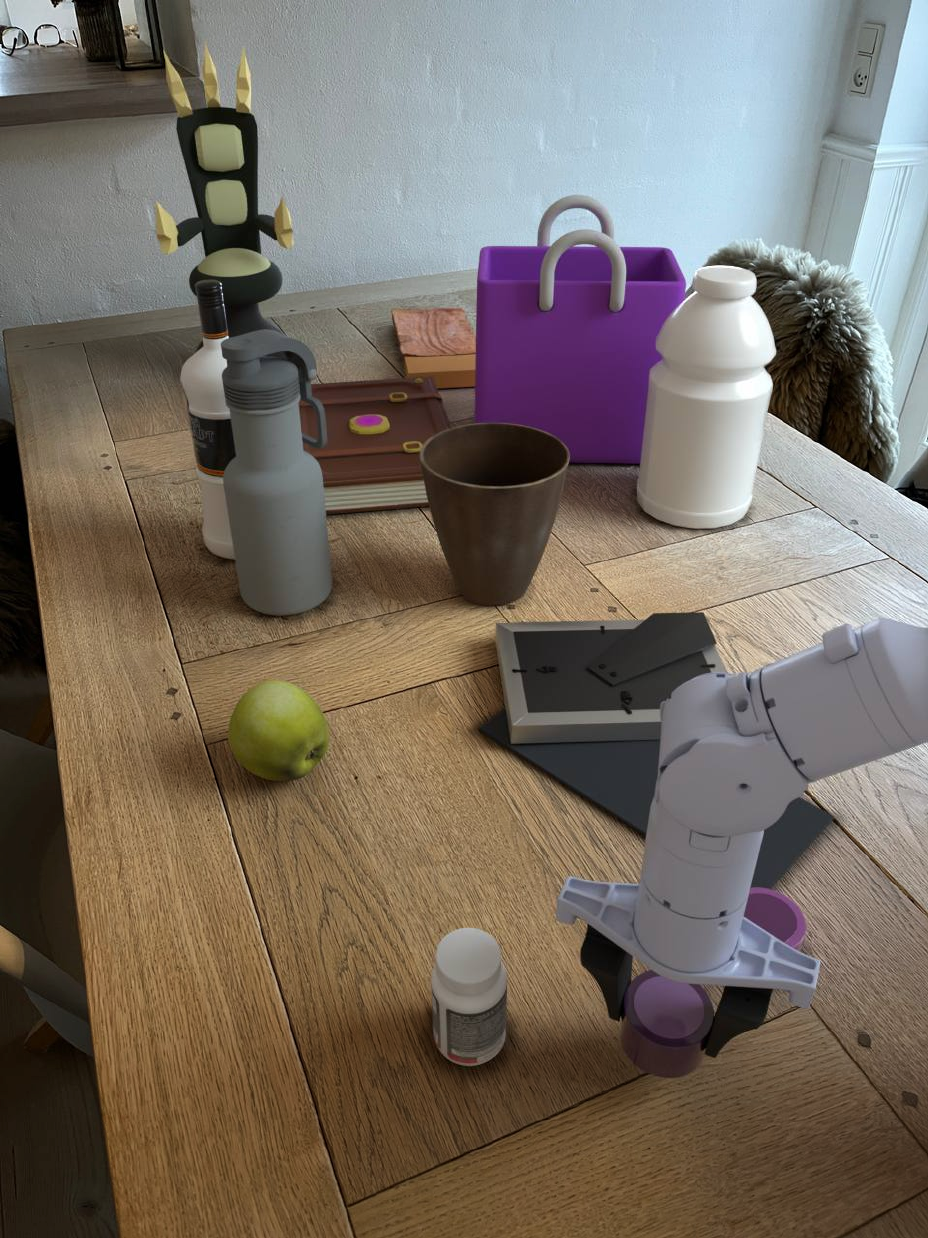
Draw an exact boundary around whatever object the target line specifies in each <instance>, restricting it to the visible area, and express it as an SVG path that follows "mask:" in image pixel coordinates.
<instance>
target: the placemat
mask: <svg viewBox="0 0 928 1238" xmlns="http://www.w3.org/2000/svg"><path fill="white" fill-rule="evenodd" d="M478 731H479V732H481V733H482V734H483V735H485V736H487V737H488V738H489V739H492V740H493V741H495V742H497V743H498V744H500V745H501V746H502V747H504V748H505V749H508V750H509V751H510V752H512V753H514V754H515V755H517V756H518V757H520V758H522V759H523V760H524V761H526V762H527V763H529V764H531V765H532V766H534V767H536V768H537V769H539V770H540V771H542V772H543V773H545V774H546V775H548V776H550V777H551V778H553V779H555V780H556V781H558V782H559V783H561V784H562V785H564V786H565V787H567V788H568V789H570V790H572V791H573V792H575V793H576V794H578V795H580V796H581V797H583V798H584V799H586V800H588V801H589V802H591V803H592V804H594V805H595V806H597V807H598V808H599V809H602V810H603V811H605V812H606V813H608V814H609V815H611V816H612V817H614V818H615V819H617V820H619V821H620V822H622V823H624V824H625V825H627V826H628V827H630V828H631V829H633V830H635V831H636V832H638V833H639V834H641V835H642V836H644V837H646V834H647V827H648V820H649V814H650V807H651V804H652V801H653V798H654V796H655V787H656V781H657V779H658V765H659V752H660V740H627V741H592V742H557V743H522V744H511V740H510V733H509V727H508V720H507V714H506V708H504V709H503V710H501V711H500V712H499V713H497V714H495V715H494V716H493V717H491V718H490V719H489V720H487V721H486V722H485V723H483V724H481V725H479V727H478ZM834 819H835V816H834V815H833V814H831V813H829V812H828V811H825V810H824V809H822V808H820V807H818V806H817V805H815V804H812V803H811V802H809V801H807V800H806V799H803V798H802V797H798V798H796V799H794V800H792V801H791V802H790V803H789V804H788V805H787V807H786V809H785V811H784V813H783V814H782V816H781V817H780V818H779V819H778V820H777V821H776V822H775V823H774V824H773V825H771V826H770V827H768V828H767V829H765V830H764V834H763V838H762V842H761V846H760V850H759V854H758V858H757V862H756V866H755V870H754V874H753V878H752V882H751V886H750V888H752V887H761V888H767V889H771V890H772V889H773V887H774V886H775V885H776V884H777V883H778V882H779V881H780V879H781V878H782V877H783V876H784V875H785V874H786V873H788V871H789V869H790V868H791V867H792V866H793V865H794V864H795V863H796V862H797V861H798V859H799V858H800V857H802V855H803V854H804V853H805V852H806V851H807V850H808V849H809V847H810V846H812V844H813V843H814V842H815V841H816V840H817V839H818V837H819V836H820V835H821V834H823V832H824V831H825V829H826V828H827V827H828V826H829V825H830V824H831V823H832V822H833V821H834Z"/></svg>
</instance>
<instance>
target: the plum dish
mask: <svg viewBox="0 0 928 1238" xmlns="http://www.w3.org/2000/svg"><path fill="white" fill-rule="evenodd" d="M743 917H745V918H747V919H748V920H750V921H751V922H753V923H754V924H756V925H757V926H759V927H760V928H762V929H763V930H765V931H767V932H768V933H770V934H771V935H773V936H774V937H776V938H777V939H779V940H780V941H782V942H783V943H785V944H787V945H788V946H790V947H792V948H793V949H795V950H797V951H799V952H801V949H802V946H803V942H804V939H805V936H806V932H807V923H806V919H805V916H804V913H803V912H802V910H801V909H800V907H799V906H798V905H797V903H795V902H794V901H793V900H792V899H791V898H790V897H788V896H787V895H785V894H783V893H781V892H779V891H777V890H774V889H772V888H771V889H767V888H761V887H752V888H750V891H749V896H748V900H747V904H746V908H745V912H744V916H743Z"/></svg>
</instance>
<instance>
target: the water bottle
mask: <svg viewBox="0 0 928 1238" xmlns="http://www.w3.org/2000/svg"><path fill="white" fill-rule="evenodd" d="M282 333H283V332H282ZM282 333H279V332H277V331H274V330H268V329H264V330H258V331H253V332H250V333H246V334H243V335H239V336H236V337H231V338H228V339H225V340H223V341H222V342H221V350H222V356H223V358H224V359H226V360H227V367H226V368H225V369H224V370H223V372H222V381H223V388H224V395H225V399H226V400H225V402H226V406H227V407H228V408H229V410H230V417H231V424H232V431H233V438H234V445H235V451H236V457H235V458H234V459H233V460H232V461H231V462H230V463H229V464H228V466H227V467H226V469H225V471H224V475H223V485H224V491H225V498H226V504H227V511H228V517H229V523H230V530H231V536H232V542H233V549H234V555H235V560H234V561H235V562H234V563H235V569H236V574H237V580H238V587H239V593H240V596H241V598H242V600H243V602H244V603H245V604H246V605H247V606H248V607H249V608H250V609H252V610H254V611H256V612H258V613H261V614H263V615H270V616H279V617H280V616H281V617H282V616H293V615H299V614H302V613H305V612H308V611H311V610H313V609H314V608H316V607H319V606H320V605H321V604H323V602H325V601H326V600H327V599H328V597H329V595H330V593H331V592H332V588H333V575H332V565H331V553H330V543H329V533H328V522H327V521H328V519H327V514H326V509H325V499H324V488H323V477H322V471H321V468H320V465H319V463H318V462H317V460H316V459H315V458H314V457H313V456H312V455H310V454H309V453H307V452H306V451H303V442H305V443H307V444H309V445H311V446H313V447H315V448H317V449H320V448H322V447H325V446H326V445H327V430H326V418H325V410H324V407H323V405H322V403H321V402H320V401H319V400H318V399H317V398H315V397H312V390H311V384H312V381H314V380H316V378H317V377H318V368H317V362H316V358H315V356H314V354H313V352H312V350H311V349H310V348H309V346H308V345H307V344H305V343H304V342H302V341H301V340H298V339H296V338H294V337H292V336H289V335H287V334H285V333H284V334H285V335H284V334H282ZM280 351H283V352H284V354H285V356H286V360H285V359H282V358H279V357H273V356H264V355H267V354H271V353H275V352H280ZM300 400H302V401H304V402H307V403H309V404H310V405H311V406H312V407H313V408H314V410H315V412H316V416H317V424H318V440H316V439H314V438H312V437H310V436H308V435H306V434H304V433H302V432H301V423H300V413H299V404H298V403H299V401H300ZM302 441H303V442H302Z"/></svg>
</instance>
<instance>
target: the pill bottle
mask: <svg viewBox="0 0 928 1238" xmlns="http://www.w3.org/2000/svg"><path fill="white" fill-rule="evenodd" d="M434 955H435V956H434V957H435V958H434V959H435V961H434V966H433V967H432V972H431V976H430V988H431V990H430V991H431V1005H432V1006H431V1008H432V1009H431V1010H432V1011H431V1012H432V1029H433V1030H432V1031H433V1039H434V1043H435V1046H436V1048H437V1049H438V1050H439V1052H440V1053H441V1054H442V1055H443V1057H445V1058H446V1059H447V1060H449V1061H450V1062H452V1063H454V1064H455V1065H460V1066H465V1067H473V1066H475V1067H476V1066H479V1065H482V1064H485V1063H487V1062H489V1061H490V1060H492V1059H493V1058H494V1057H496V1056H497V1055H498V1054H499V1053H500V1051H501V1050H502V1048H503V1046H504V1044H505V1041H506V1037H507V1011H508V1010H507V1008H508V1002H507V1001H508V974H507V971H506V966H505V965H504V962H503V961H502V952H501V947H500V945H499V943H498V942H497V940H496V938H494V937H493V936H492V935H491V934H490V933H488V932H487V931H485V930H482V929H479V928H476V927H462V928H461V927H460V928H458V929H454V930H452V931H450V932H448V933H447V934H445V936H443V937H442V938H441V939H440V941H439V943H438V944H437V947H436V950H435V954H434Z"/></svg>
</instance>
